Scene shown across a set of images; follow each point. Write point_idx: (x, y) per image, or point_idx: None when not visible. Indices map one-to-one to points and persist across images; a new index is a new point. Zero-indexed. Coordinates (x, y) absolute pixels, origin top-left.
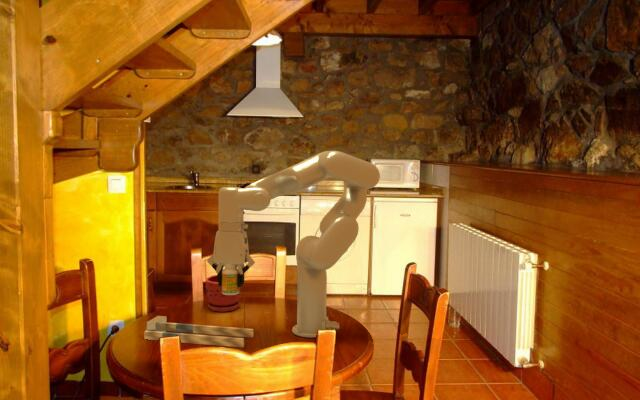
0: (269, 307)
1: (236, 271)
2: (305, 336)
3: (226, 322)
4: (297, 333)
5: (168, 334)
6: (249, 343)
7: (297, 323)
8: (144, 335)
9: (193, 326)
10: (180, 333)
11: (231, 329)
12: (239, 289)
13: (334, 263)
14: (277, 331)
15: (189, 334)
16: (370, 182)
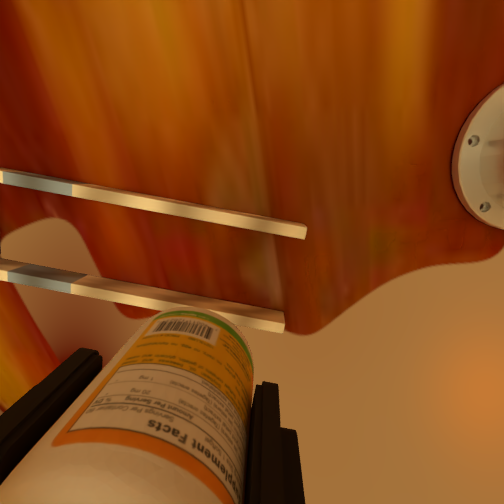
0: None
1: None
2: (495, 227)
3: (171, 45)
4: (471, 210)
5: (32, 284)
6: (297, 285)
7: (498, 169)
8: None
9: (76, 195)
10: (66, 284)
11: (223, 223)
12: (252, 381)
13: None
14: (390, 156)
15: (99, 293)
16: None
